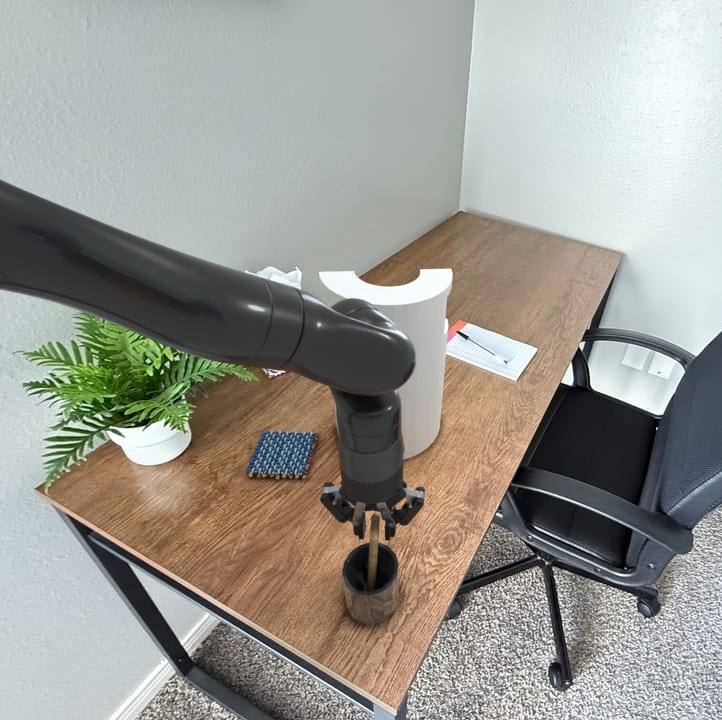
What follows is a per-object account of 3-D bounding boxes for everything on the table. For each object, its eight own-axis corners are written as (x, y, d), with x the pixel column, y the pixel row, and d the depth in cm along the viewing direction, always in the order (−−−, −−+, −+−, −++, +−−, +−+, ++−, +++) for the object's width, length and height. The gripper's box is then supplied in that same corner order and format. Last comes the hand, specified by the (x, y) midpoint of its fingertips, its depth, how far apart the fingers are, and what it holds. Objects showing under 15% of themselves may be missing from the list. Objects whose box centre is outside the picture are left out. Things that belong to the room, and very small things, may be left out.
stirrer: (373, 618, 66) (370, 572, 58) (364, 618, 66) (360, 571, 58) (382, 560, 72) (380, 511, 64) (374, 560, 72) (371, 511, 64)
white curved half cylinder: (336, 424, 94) (438, 413, 100) (338, 469, 85) (449, 453, 91) (318, 269, 72) (450, 266, 78) (319, 308, 64) (466, 301, 70)
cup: (395, 625, 66) (394, 596, 60) (341, 624, 65) (336, 594, 60) (400, 574, 72) (401, 543, 66) (352, 572, 71) (348, 541, 65)
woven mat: (307, 481, 83) (306, 474, 81) (245, 479, 82) (243, 472, 80) (320, 437, 91) (319, 430, 90) (264, 435, 90) (262, 427, 88)
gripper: (302, 478, 52) (318, 557, 63) (428, 484, 53) (423, 561, 64) (319, 428, 58) (331, 509, 68) (432, 435, 59) (426, 513, 70)
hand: (375, 533), depth 66 cm, fingers open, 3 cm apart
